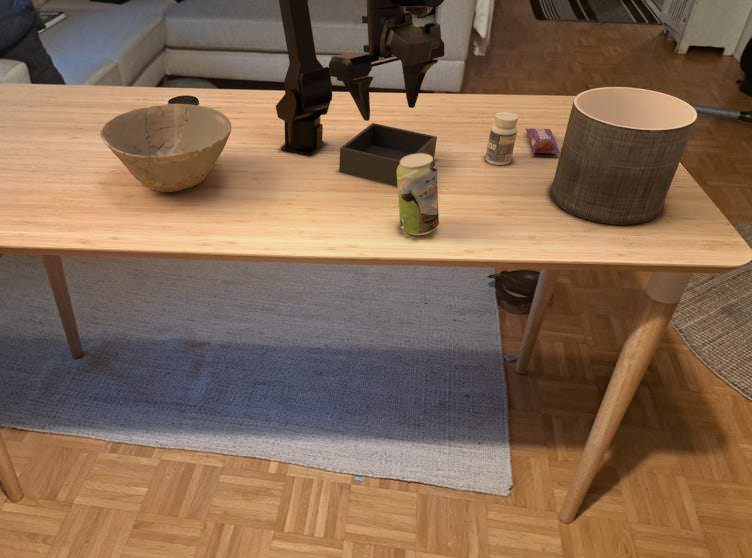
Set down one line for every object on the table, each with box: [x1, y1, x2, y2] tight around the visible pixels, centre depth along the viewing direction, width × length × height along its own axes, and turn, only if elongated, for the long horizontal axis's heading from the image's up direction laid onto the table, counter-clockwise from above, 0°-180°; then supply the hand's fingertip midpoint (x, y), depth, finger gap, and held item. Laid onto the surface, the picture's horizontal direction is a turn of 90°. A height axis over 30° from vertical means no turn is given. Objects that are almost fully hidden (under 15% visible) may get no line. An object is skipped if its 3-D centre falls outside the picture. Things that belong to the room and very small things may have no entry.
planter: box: [550, 86, 698, 226], centre depth 110 cm, size 18×18×16 cm
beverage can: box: [397, 153, 440, 236], centre depth 105 cm, size 6×7×12 cm
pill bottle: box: [485, 111, 519, 166], centre depth 125 cm, size 5×5×8 cm
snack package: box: [525, 127, 561, 155], centre depth 132 cm, size 12×2×5 cm
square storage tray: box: [338, 122, 438, 187], centre depth 125 cm, size 13×13×5 cm
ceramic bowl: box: [99, 103, 232, 193], centre depth 120 cm, size 22×23×10 cm
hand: (389, 113), depth 110 cm, fingers open, 9 cm apart
